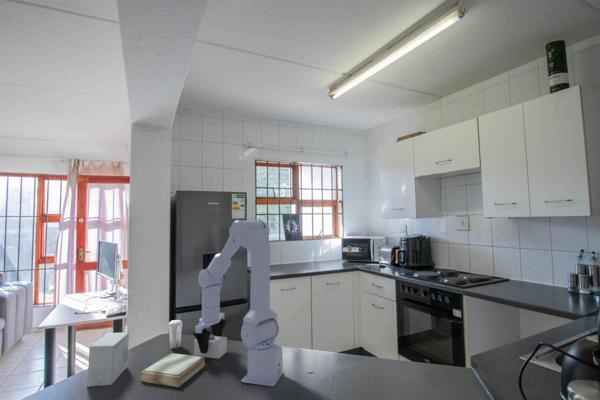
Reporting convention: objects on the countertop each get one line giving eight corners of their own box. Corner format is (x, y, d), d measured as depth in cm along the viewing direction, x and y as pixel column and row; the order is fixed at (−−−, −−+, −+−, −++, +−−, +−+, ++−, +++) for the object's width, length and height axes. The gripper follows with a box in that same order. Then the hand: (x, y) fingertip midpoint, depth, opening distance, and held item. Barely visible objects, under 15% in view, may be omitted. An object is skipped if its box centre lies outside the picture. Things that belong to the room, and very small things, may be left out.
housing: (226, 352, 101) (226, 334, 101) (218, 359, 96) (218, 340, 96) (202, 349, 103) (203, 332, 103) (194, 356, 98) (194, 337, 99)
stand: (204, 366, 91) (204, 356, 91) (178, 387, 79) (178, 376, 80) (170, 361, 94) (170, 352, 94) (140, 381, 83) (141, 370, 83)
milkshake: (185, 343, 108) (185, 315, 108) (178, 350, 102) (178, 320, 103) (173, 343, 108) (173, 314, 109) (165, 349, 103) (165, 319, 104)
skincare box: (112, 385, 81) (114, 344, 82) (86, 387, 80) (87, 346, 81) (128, 366, 91) (129, 331, 92) (105, 368, 90) (106, 332, 91)
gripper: (212, 299, 109) (211, 338, 108) (186, 311, 95) (186, 356, 94) (229, 300, 107) (229, 340, 106) (206, 312, 93) (206, 358, 92)
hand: (210, 347), depth 100 cm, fingers open, 7 cm apart
